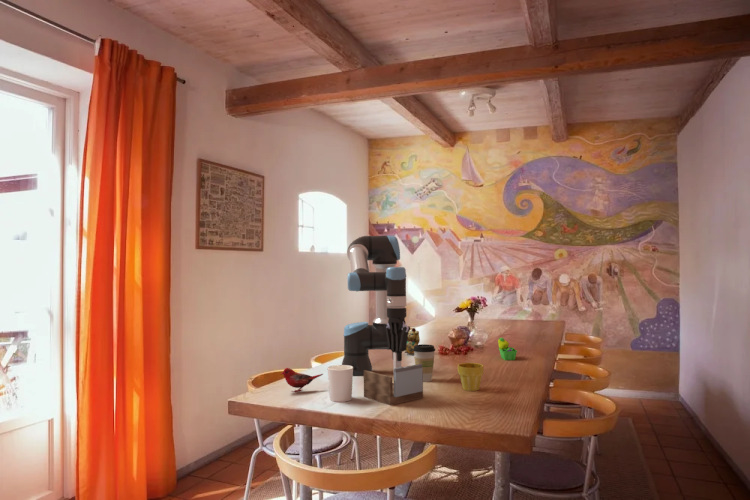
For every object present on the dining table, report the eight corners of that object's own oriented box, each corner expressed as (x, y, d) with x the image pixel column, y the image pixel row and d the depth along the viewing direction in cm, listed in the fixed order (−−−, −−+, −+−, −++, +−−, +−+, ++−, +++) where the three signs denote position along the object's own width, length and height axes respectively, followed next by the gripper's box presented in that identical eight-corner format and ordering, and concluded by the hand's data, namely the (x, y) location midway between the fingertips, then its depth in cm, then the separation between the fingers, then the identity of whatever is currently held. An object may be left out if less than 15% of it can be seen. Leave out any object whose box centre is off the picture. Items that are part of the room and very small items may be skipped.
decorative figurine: (402, 355, 287) (402, 328, 288) (404, 352, 295) (404, 326, 296) (420, 355, 286) (419, 328, 286) (421, 353, 294) (420, 326, 294)
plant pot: (468, 393, 202) (468, 368, 203) (452, 388, 212) (452, 364, 212) (489, 390, 207) (488, 365, 207) (473, 385, 216) (472, 361, 217)
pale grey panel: (393, 396, 188) (393, 368, 188) (420, 390, 196) (420, 364, 196) (396, 397, 187) (395, 369, 187) (422, 391, 195) (422, 364, 195)
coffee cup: (434, 383, 221) (434, 348, 221) (412, 382, 223) (411, 347, 223) (436, 378, 230) (436, 344, 231) (414, 377, 232) (414, 343, 233)
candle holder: (327, 396, 201) (327, 365, 201) (353, 395, 202) (352, 364, 202) (327, 402, 191) (327, 370, 191) (354, 402, 192) (353, 369, 192)
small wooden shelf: (363, 396, 200) (363, 370, 200) (396, 389, 210) (395, 365, 210) (390, 405, 187) (389, 377, 187) (423, 397, 197) (422, 371, 197)
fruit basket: (517, 360, 269) (517, 339, 269) (500, 360, 269) (500, 339, 269) (512, 356, 280) (512, 335, 281) (496, 356, 281) (495, 336, 281)
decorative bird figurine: (280, 392, 207) (280, 367, 207) (322, 388, 214) (322, 364, 214) (281, 394, 204) (281, 369, 204) (324, 389, 211) (324, 365, 211)
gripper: (378, 306, 200) (378, 368, 199) (400, 308, 190) (401, 373, 189) (393, 305, 205) (393, 365, 204) (415, 307, 194) (416, 370, 194)
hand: (397, 369), depth 196 cm, fingers closed
